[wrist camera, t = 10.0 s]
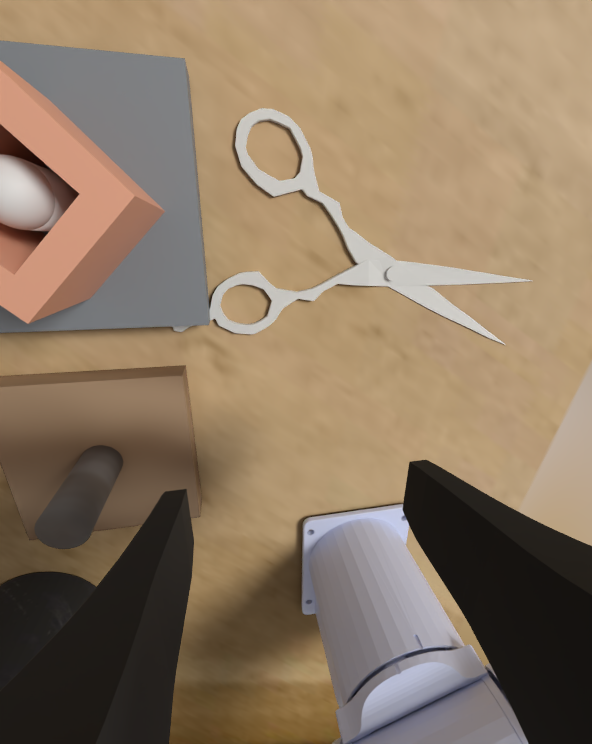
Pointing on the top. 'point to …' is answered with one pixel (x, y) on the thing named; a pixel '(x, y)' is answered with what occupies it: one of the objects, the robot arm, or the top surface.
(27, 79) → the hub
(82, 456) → the stand
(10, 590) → the travel mug
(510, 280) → the scissors
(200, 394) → the top surface
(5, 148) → the collar
